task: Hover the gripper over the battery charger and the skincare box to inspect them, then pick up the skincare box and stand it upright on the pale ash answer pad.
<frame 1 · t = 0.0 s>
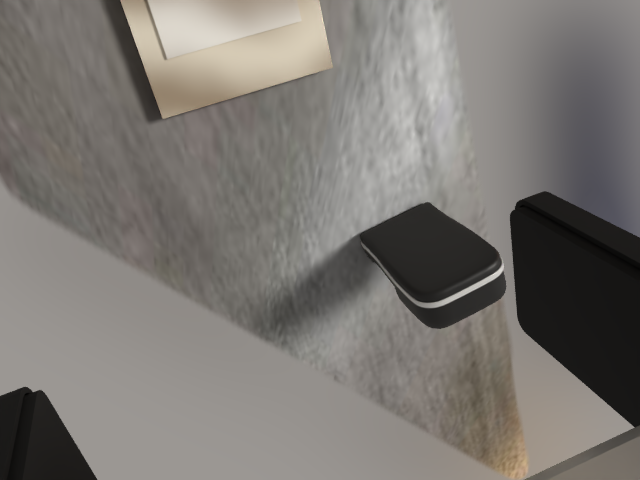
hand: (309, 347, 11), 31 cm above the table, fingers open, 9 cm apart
battery charger: (397, 233, 49), on the table
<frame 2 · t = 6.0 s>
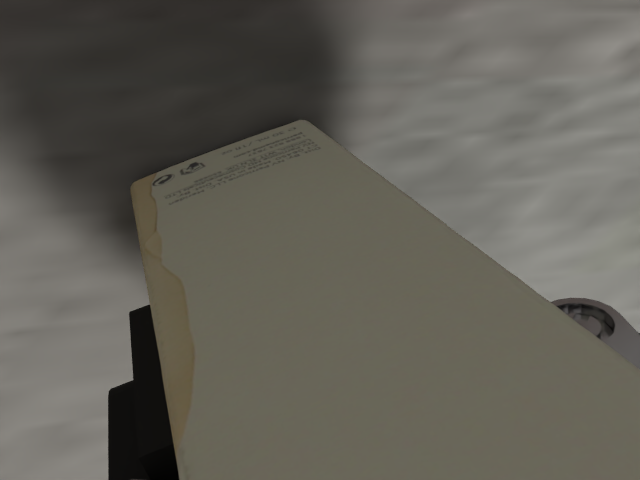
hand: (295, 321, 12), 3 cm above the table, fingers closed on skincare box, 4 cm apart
skincare box: (262, 257, 15), on the table, touching gripper
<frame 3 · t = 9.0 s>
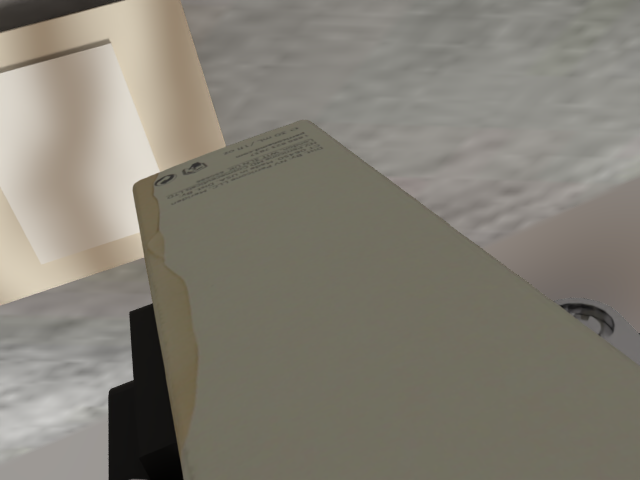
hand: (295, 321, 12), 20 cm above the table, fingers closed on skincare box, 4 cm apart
skincare box: (264, 257, 15), point 17 cm above the table, touching gripper
answer pad: (75, 153, 29), on the table
when the fingers open (5 cm above the table, at t = 12.4 s): skincare box drops 1 cm, resting on answer pad.
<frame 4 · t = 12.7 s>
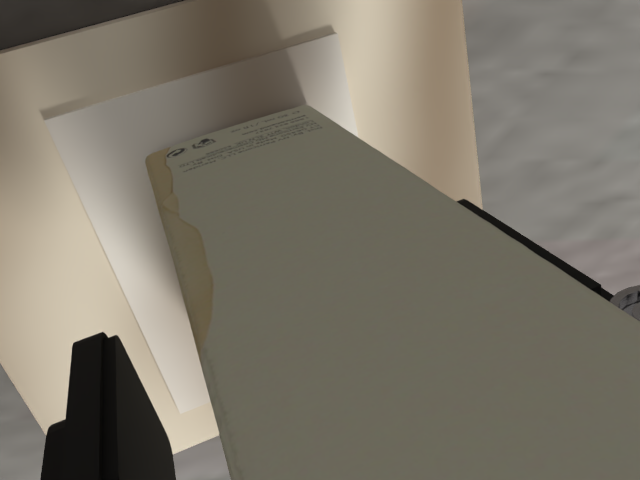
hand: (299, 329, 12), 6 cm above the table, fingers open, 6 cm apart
skincare box: (262, 233, 16), point 1 cm above the table, touching answer pad
answer pad: (242, 225, 17), on the table
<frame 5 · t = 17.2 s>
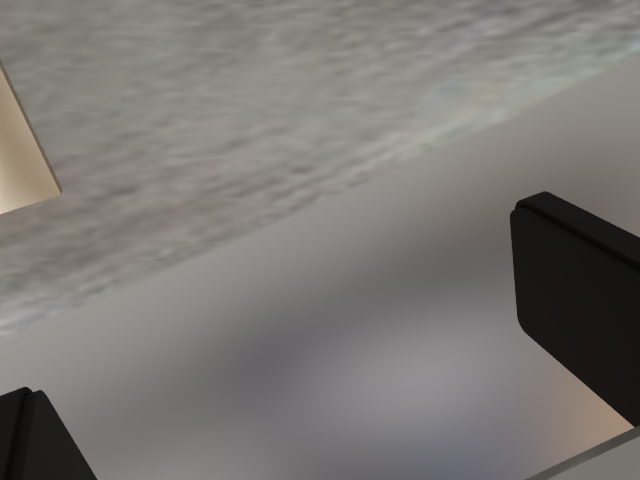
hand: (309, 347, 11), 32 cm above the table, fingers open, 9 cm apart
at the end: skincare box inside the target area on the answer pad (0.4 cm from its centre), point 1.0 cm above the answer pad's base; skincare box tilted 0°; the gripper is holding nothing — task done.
